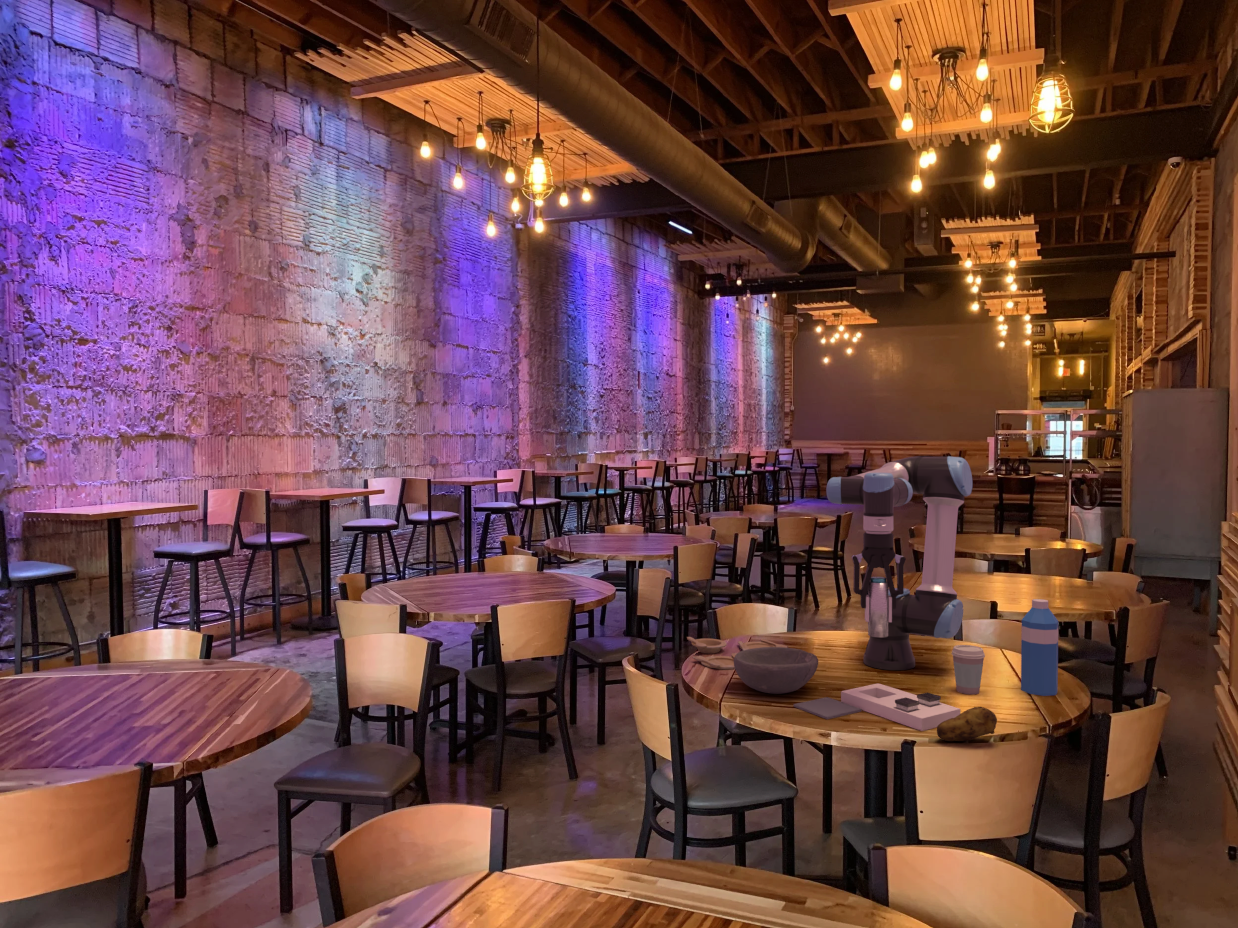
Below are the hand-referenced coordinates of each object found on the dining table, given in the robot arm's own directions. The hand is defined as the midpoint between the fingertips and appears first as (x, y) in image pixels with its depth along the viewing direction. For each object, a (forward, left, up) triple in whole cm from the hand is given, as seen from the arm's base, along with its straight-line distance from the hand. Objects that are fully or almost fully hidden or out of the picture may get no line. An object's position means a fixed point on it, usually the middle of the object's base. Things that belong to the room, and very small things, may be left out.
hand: (878, 620), depth 225 cm
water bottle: (+15, +47, -22) cm, 54 cm away
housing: (+7, 0, -22) cm, 23 cm away
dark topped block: (+13, +4, -20) cm, 24 cm away
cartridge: (0, 0, -4) cm, 4 cm away
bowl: (-24, -14, -22) cm, 36 cm away
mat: (-4, -14, -22) cm, 26 cm away
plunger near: (+13, -4, -20) cm, 25 cm away
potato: (+30, -4, -22) cm, 38 cm away
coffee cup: (+5, +30, -22) cm, 37 cm away
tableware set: (-58, +2, -23) cm, 62 cm away
